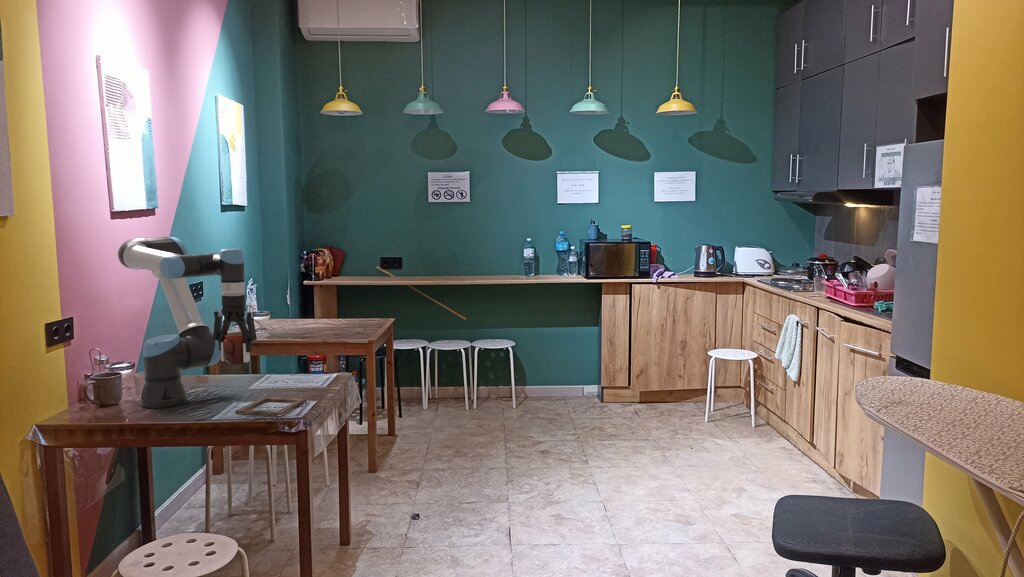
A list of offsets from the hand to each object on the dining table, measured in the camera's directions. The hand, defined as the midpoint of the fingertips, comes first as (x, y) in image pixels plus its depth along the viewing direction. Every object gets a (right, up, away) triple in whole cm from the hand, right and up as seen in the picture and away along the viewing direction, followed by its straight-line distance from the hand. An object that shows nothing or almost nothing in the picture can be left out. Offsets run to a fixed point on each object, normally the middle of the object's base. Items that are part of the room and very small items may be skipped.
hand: (235, 360), depth 257 cm
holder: (+12, -16, +1) cm, 20 cm away
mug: (0, -1, 0) cm, 1 cm away
